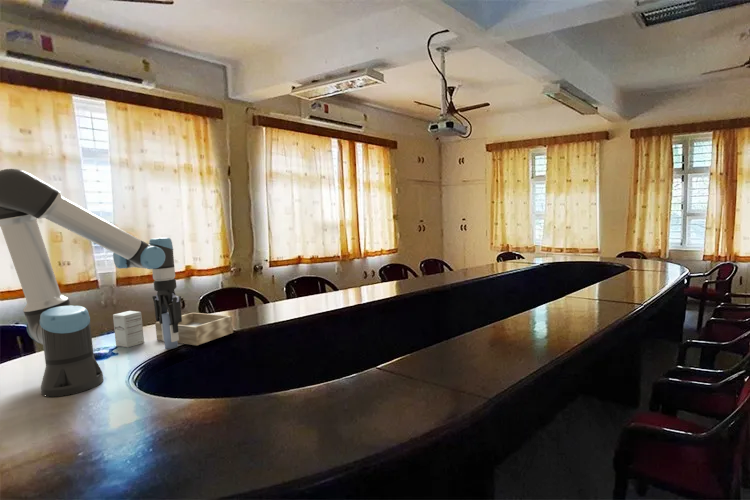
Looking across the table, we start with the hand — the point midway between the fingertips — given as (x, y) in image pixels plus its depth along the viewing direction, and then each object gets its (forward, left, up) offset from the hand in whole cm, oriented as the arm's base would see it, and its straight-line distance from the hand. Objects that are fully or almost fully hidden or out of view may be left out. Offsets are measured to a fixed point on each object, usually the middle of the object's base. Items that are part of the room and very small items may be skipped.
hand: (170, 340), depth 163 cm
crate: (+14, +4, -3) cm, 15 cm away
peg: (0, 0, -3) cm, 3 cm away
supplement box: (-3, +21, -3) cm, 21 cm away
